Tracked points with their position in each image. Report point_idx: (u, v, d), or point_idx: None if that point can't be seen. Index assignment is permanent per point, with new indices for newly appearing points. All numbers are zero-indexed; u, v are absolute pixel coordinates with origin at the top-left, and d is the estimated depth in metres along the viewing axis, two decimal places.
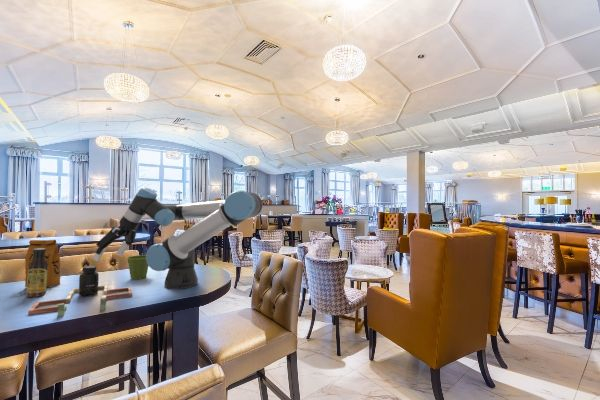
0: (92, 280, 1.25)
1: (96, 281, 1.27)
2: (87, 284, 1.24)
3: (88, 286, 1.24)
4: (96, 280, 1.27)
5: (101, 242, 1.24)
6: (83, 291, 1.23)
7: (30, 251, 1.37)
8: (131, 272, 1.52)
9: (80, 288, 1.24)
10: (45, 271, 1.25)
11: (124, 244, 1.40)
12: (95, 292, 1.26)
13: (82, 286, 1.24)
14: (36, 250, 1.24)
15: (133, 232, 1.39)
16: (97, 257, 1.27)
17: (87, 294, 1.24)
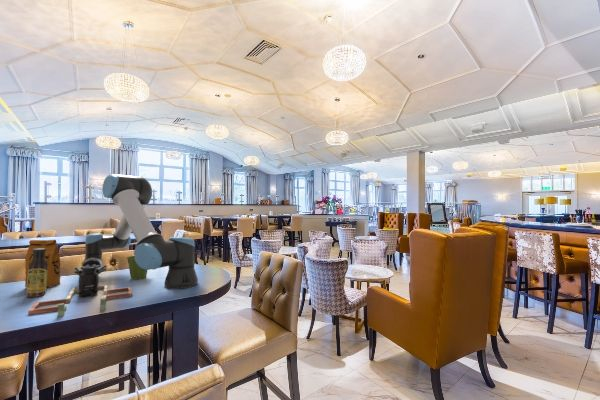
0: (92, 280, 1.24)
1: (96, 281, 1.26)
2: (87, 285, 1.23)
3: (87, 287, 1.23)
4: (96, 280, 1.26)
5: (78, 272, 1.35)
6: (82, 291, 1.23)
7: (30, 251, 1.37)
8: (131, 272, 1.52)
9: (80, 288, 1.23)
10: (45, 271, 1.25)
11: None
12: (95, 292, 1.26)
13: (82, 286, 1.23)
14: (36, 250, 1.24)
15: None
16: None
17: (87, 294, 1.23)
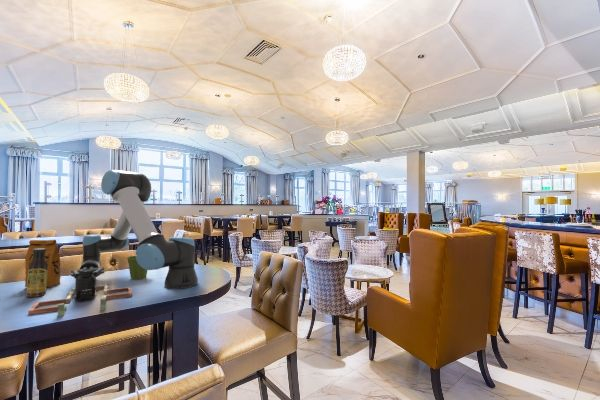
0: (89, 284, 1.19)
1: (93, 285, 1.20)
2: (84, 289, 1.17)
3: (84, 291, 1.18)
4: (93, 284, 1.20)
5: (75, 276, 1.29)
6: (79, 296, 1.17)
7: (30, 251, 1.37)
8: (131, 272, 1.52)
9: (76, 293, 1.17)
10: (45, 271, 1.25)
11: None
12: (92, 297, 1.20)
13: (79, 290, 1.17)
14: (36, 250, 1.24)
15: None
16: None
17: (84, 299, 1.17)
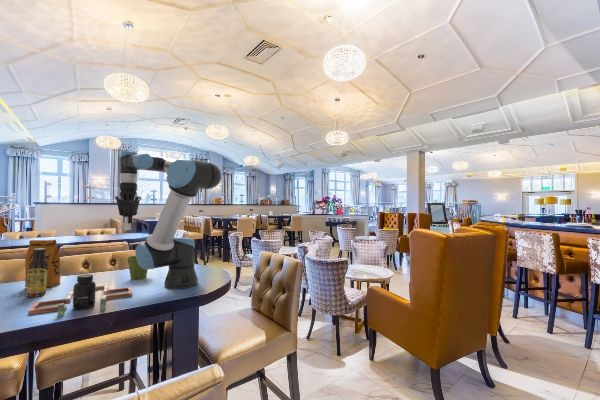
0: (86, 291, 1.09)
1: (91, 293, 1.10)
2: (80, 296, 1.08)
3: (80, 298, 1.08)
4: (91, 291, 1.10)
5: None
6: (75, 303, 1.08)
7: (30, 251, 1.37)
8: (131, 272, 1.52)
9: (73, 300, 1.09)
10: (45, 271, 1.25)
11: None
12: (89, 305, 1.10)
13: (75, 297, 1.08)
14: (36, 250, 1.24)
15: None
16: None
17: (79, 307, 1.08)
